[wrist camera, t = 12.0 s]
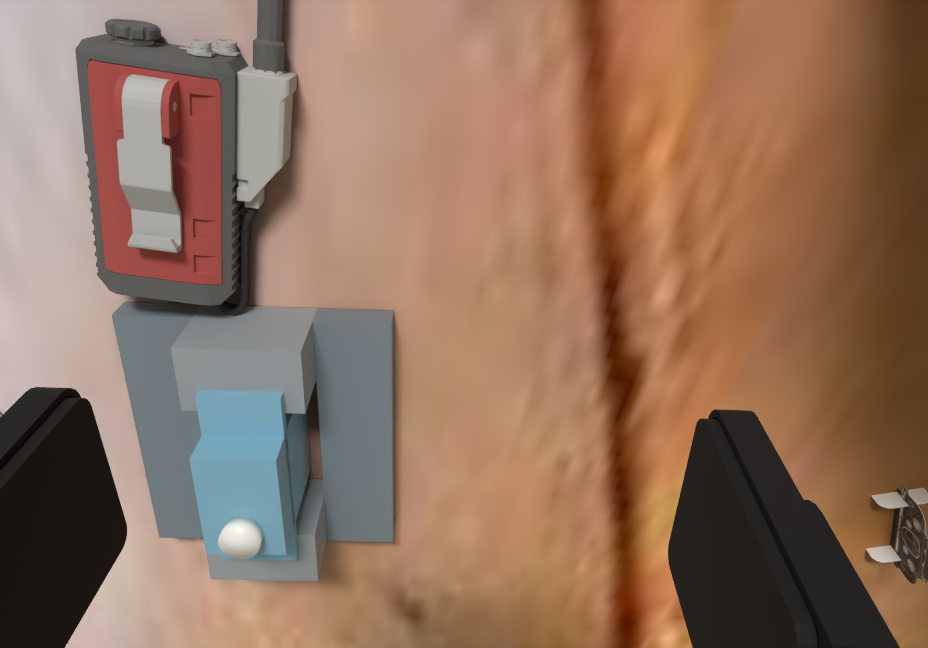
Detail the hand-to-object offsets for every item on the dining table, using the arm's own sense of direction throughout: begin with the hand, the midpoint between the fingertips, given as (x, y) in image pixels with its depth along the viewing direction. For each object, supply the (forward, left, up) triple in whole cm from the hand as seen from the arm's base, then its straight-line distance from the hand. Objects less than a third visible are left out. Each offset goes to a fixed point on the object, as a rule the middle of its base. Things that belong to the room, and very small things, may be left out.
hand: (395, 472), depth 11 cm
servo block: (+9, +17, -24) cm, 31 cm away
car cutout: (-31, +27, -25) cm, 48 cm away
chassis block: (+9, +17, -24) cm, 31 cm away
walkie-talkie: (+11, -1, -25) cm, 27 cm away
